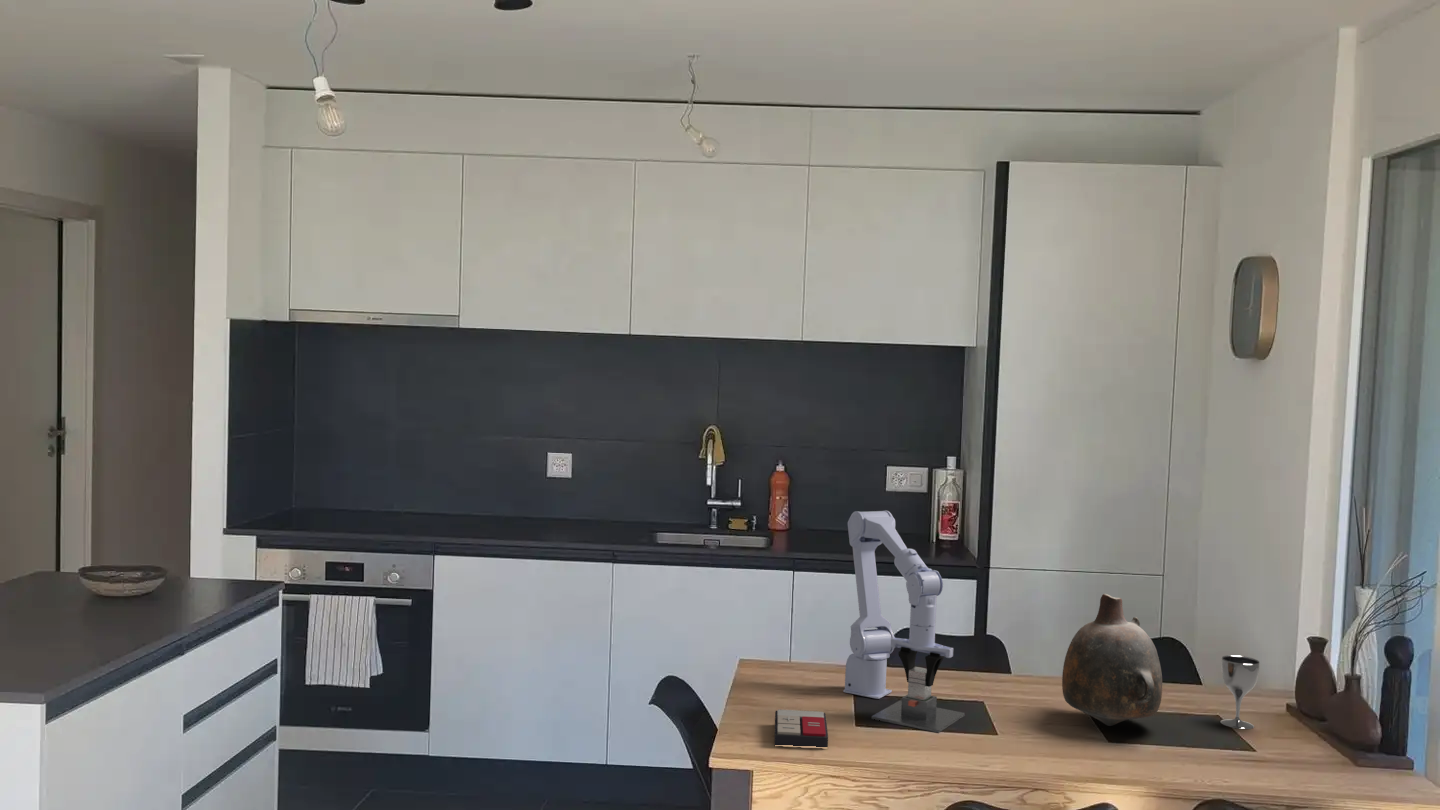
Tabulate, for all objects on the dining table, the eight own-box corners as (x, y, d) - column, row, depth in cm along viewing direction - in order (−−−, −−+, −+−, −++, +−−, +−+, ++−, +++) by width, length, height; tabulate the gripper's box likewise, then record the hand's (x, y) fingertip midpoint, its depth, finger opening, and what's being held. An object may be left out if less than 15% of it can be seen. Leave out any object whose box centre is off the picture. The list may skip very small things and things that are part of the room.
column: (907, 705, 272) (908, 670, 272) (914, 701, 276) (915, 666, 276) (924, 708, 270) (925, 673, 270) (930, 704, 274) (932, 669, 273)
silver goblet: (1256, 722, 279) (1259, 658, 278) (1255, 731, 272) (1259, 665, 271) (1219, 716, 282) (1222, 653, 282) (1217, 725, 275) (1221, 660, 274)
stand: (871, 718, 271) (872, 698, 270) (899, 702, 284) (900, 683, 284) (938, 732, 262) (939, 712, 262) (964, 715, 276) (965, 695, 276)
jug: (1181, 728, 272) (1188, 596, 271) (1141, 748, 256) (1148, 609, 255) (1080, 704, 289) (1086, 580, 287) (1036, 721, 273) (1043, 590, 272)
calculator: (775, 731, 249) (775, 706, 264) (774, 751, 249) (774, 725, 264) (828, 734, 248) (825, 709, 263) (827, 754, 249) (824, 728, 263)
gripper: (959, 626, 272) (957, 685, 272) (901, 616, 280) (898, 674, 280) (946, 631, 266) (944, 692, 266) (887, 621, 274) (885, 680, 275)
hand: (920, 683), depth 273 cm, fingers closed on column, 4 cm apart
